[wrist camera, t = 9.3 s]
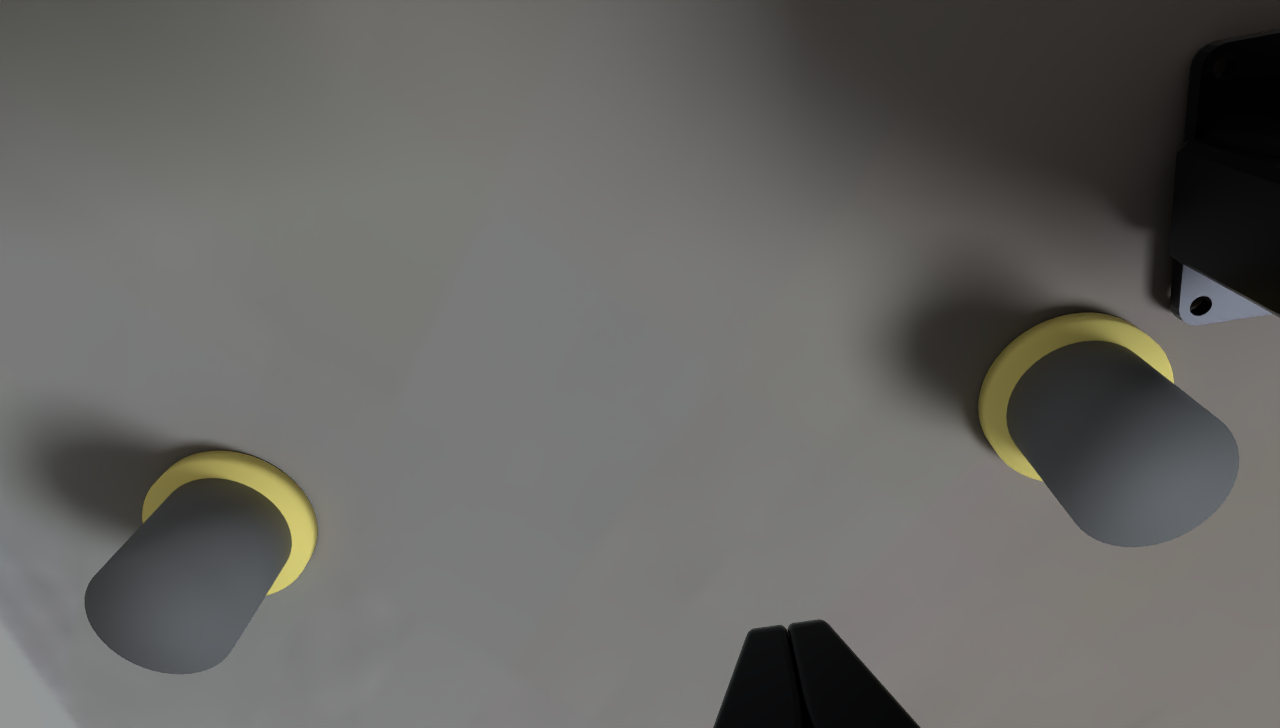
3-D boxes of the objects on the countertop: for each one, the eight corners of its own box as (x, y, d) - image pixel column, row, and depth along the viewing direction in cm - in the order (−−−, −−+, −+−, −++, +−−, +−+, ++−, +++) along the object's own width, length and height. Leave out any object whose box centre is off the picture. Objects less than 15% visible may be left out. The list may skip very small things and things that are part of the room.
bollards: (1167, 298, 21) (1277, 367, 17) (1153, 456, 22) (1250, 549, 19) (126, 464, 23) (27, 555, 19) (193, 593, 25) (114, 699, 21)
